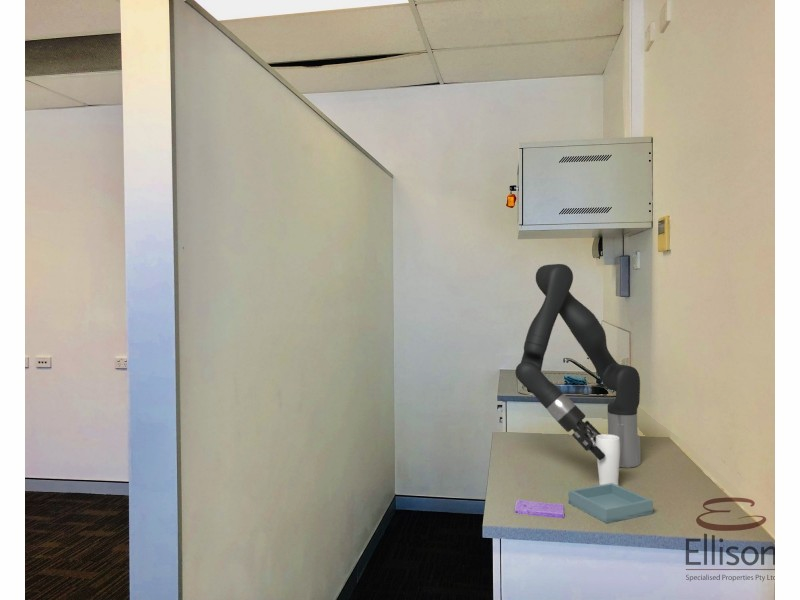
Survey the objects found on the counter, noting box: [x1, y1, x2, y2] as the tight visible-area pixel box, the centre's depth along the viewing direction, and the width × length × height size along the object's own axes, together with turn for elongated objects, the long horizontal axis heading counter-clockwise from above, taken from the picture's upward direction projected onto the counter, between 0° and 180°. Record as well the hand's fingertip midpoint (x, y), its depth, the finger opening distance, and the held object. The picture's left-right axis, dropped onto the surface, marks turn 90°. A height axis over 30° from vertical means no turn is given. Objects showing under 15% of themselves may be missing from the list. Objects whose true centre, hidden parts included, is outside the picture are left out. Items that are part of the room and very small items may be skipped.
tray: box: [567, 483, 654, 524], centre depth 151 cm, size 15×15×4 cm
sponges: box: [514, 499, 565, 519], centre depth 150 cm, size 7×13×2 cm, turn 73°
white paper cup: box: [595, 433, 620, 486], centre depth 167 cm, size 7×7×15 cm
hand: (605, 454), depth 167 cm, fingers open, 8 cm apart
